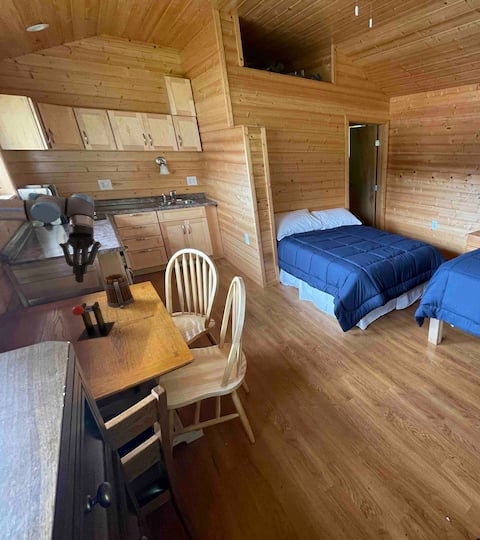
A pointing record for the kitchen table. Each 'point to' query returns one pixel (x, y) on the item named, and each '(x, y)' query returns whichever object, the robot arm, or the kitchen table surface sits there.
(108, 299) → the mug
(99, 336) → the lever base
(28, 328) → the kitchen table surface
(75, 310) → the lever
